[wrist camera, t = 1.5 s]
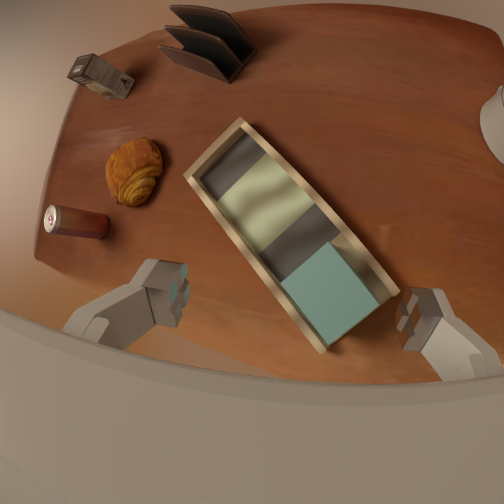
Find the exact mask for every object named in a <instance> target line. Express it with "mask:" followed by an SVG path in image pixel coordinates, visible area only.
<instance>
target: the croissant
mask: <svg viewBox="0 0 504 504" xmlns="http://www.w3.org/2000/svg"><path fill="white" fill-rule="evenodd" d="M162 172H163V160H162V156H161V153H160V151H159V149H158V147H157V146H156V145H155V144H154V142H152V141H151V140H150V139H148V138H144V137H143V138H138V139H133V140H132V141H130V142H128V143H126V144H124V145H123V146H121V147H119V148H118V149H117V150H116V151H115V152H114V153H113V154H112V155H111V157H110V158H109V161H108V163H107V164H106V181H107V185H108V188H109V191H110V194H111V196H112V198H113V199H114V200H115V202H116V203H117V204H120V205H125V206H128V207H133V206H137V205H139V204H141V203H143V202H144V201H146V200H147V199H148V197H149V196H150V194H151V192H152V190H154V189H153V188H154V186H155V184H156V179H158V178H159V177H160V175H161V174H162Z"/></svg>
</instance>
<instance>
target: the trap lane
mask: <svg viewBox="0 0 504 504" xmlns="http://www.w3.org/2000/svg"><path fill="white" fill-rule="evenodd" d="M183 176H184V177H185V178H186V180H187V181H188V182H189V184H190V185H191V186H192V188H193V189H194V190H195V192H196V193H197V194H198V196H199V197H200V198H201V200H202V201H203V202H204V204H205V205H206V206H207V208H208V209H209V210H210V212H211V213H212V214H213V216H214V217H215V218H216V220H217V221H218V222H219V224H220V225H221V226H222V228H223V229H224V230H225V231H226V233H227V234H228V235H229V237H230V238H231V239H232V241H233V242H234V243H235V245H236V246H237V247H238V249H239V250H240V251H241V253H242V254H243V255H244V256H245V258H246V259H247V260H248V262H249V263H250V264H251V266H252V267H253V268H254V270H255V271H256V272H257V274H258V275H259V276H260V277H261V279H262V280H263V281H264V283H265V284H266V285H267V287H268V288H269V289H270V291H271V292H272V293H273V294H274V296H275V297H276V298H277V300H278V301H279V302H280V304H281V305H282V306H283V307H284V309H285V310H286V311H287V313H288V314H289V315H290V317H291V318H292V319H293V320H294V322H295V323H296V324H297V326H298V327H299V328H300V330H301V331H302V332H303V333H304V335H305V336H306V337H307V339H308V340H309V341H310V342H311V344H312V345H313V346H314V348H315V349H316V350H317V351H318V353H319V354H320V355H321V354H322V353H324V352H325V351H327V349H328V348H329V346H330V345H331V344H333V343H334V342H336V341H337V340H338V339H340V338H341V337H342V336H343V335H345V334H346V333H347V332H349V331H350V330H351V329H353V328H354V327H355V326H356V325H358V324H359V323H360V322H361V321H363V320H364V319H365V318H366V317H368V316H369V315H370V314H371V313H373V312H374V311H375V310H376V309H377V308H379V307H380V306H381V305H382V304H383V303H385V302H386V301H387V300H388V299H389V298H390V297H392V296H394V297H395V296H396V295H397V294H398V293H399V292H400V290H399V288H398V287H397V286H396V284H395V283H394V282H393V281H392V279H391V278H390V277H389V276H388V274H387V273H386V272H385V271H384V269H383V268H382V267H381V266H380V264H379V263H378V262H377V261H376V259H375V258H374V257H373V256H372V255H371V253H370V252H369V251H368V250H367V249H366V247H365V246H364V245H363V244H362V243H361V242H360V240H359V239H358V238H357V237H356V236H355V235H354V233H353V232H352V231H351V230H350V229H349V228H348V226H347V225H346V224H345V223H344V222H343V221H342V220H341V219H340V217H339V216H338V215H337V214H336V213H335V212H334V211H333V210H332V208H331V207H330V206H329V205H328V204H327V203H326V202H325V201H324V200H323V199H322V198H321V196H320V195H319V194H318V193H317V192H316V191H315V190H314V189H313V188H312V187H311V186H310V185H309V184H308V183H307V182H306V181H305V180H304V178H303V177H302V176H301V175H300V174H299V173H298V172H297V171H296V170H295V169H294V168H293V167H292V166H291V165H290V164H289V163H288V162H287V161H286V160H285V159H284V158H283V157H282V156H281V155H280V154H279V153H278V152H277V151H276V150H275V149H274V148H273V147H272V146H271V145H270V144H269V143H268V142H267V141H266V140H264V139H263V138H262V137H261V136H260V135H259V134H258V133H257V132H256V131H255V130H254V129H253V128H252V127H251V126H250V125H249V124H248V123H246V122H245V121H244V120H243V119H242V118H241V117H239V118H238V119H237V120H236V121H235V122H234V123H233V124H232V125H231V126H230V127H229V128H228V129H227V130H226V131H225V132H224V133H223V134H222V135H221V136H220V137H219V138H218V139H217V140H216V141H215V142H214V143H213V144H212V145H211V146H210V147H209V148H208V149H207V150H206V151H205V152H204V153H203V154H202V155H201V156H200V157H199V158H198V159H197V161H196V162H195V163H194V164H193V165H192V166H191V167H190V168H189V169H188V170H187V171H186V172H185V173H184V174H183ZM327 242H329V243H331V244H333V245H334V246H336V248H337V249H338V250H339V251H340V252H341V253H342V255H343V256H344V257H345V258H346V260H347V261H348V262H349V263H350V264H351V266H352V267H353V268H354V269H355V270H356V272H357V273H358V274H359V275H360V277H361V278H362V279H363V280H364V282H365V283H366V284H367V285H368V287H369V288H370V289H371V290H372V292H373V293H374V294H375V296H376V297H377V298H378V301H379V306H378V307H376V308H375V309H374V310H373V311H372V312H370V313H369V314H368V315H367V316H365V317H364V318H363V319H362V320H360V321H359V322H358V323H357V324H355V325H354V326H353V327H352V328H350V329H349V330H348V331H346V332H345V333H344V334H342V335H341V336H340V337H339V338H337V339H336V340H335V341H333V342H332V343H330V344H329V345H328V344H327V343H326V341H325V340H324V339H323V338H322V336H321V335H320V334H319V332H318V331H317V330H316V329H315V327H314V326H313V325H312V323H311V322H310V321H309V320H308V318H307V317H306V316H305V314H304V313H303V312H302V311H301V309H300V308H299V307H298V305H297V304H296V303H295V302H294V300H293V299H292V298H291V296H290V295H289V294H288V293H287V291H286V290H285V289H284V287H283V286H282V285H281V284H280V283H281V282H282V281H283V280H285V279H286V278H287V277H288V276H289V275H290V274H292V273H293V272H294V271H295V270H296V269H297V268H299V267H300V266H301V265H302V264H303V263H304V262H305V261H307V260H308V259H309V258H310V257H311V256H312V255H313V254H315V253H316V252H317V251H318V250H319V249H320V248H321V247H323V246H324V245H325V244H326V243H327Z"/></svg>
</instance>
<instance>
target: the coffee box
mask: <svg viewBox="0 0 504 504" xmlns="http://www.w3.org/2000/svg"><path fill="white" fill-rule="evenodd" d="M67 78H69V79H71V80H73V81H75V82H77V83H79V84H81V85H83V86H84V87H87V88H88V89H90V90H92V91H94V92H96V93H98V94H100V95H102V96H104V97H105V98H107V99H126V97H127V95H128V93H129V90H130V88H131V86H132V84H133V82H134V79H133V78H131V77H130V76H128V75H127V74H125V73H124V72H122V71H120V70H119V69H117V68H116V67H114V66H113V65H111V64H110V63H108V62H107V61H105V60H103V59H102V58H100V57H99V56H97V55H95V54H94V53H92V54H88V55H84V56H80V57H78V58H77V59H76V61H75V63H74V65H73V67H72V68H71V70H70V72H69V74H68V76H67Z"/></svg>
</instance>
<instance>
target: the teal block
mask: <svg viewBox="0 0 504 504" xmlns="http://www.w3.org/2000/svg"><path fill="white" fill-rule="evenodd" d="M280 284H281V285H282V286H283V287H284V289H285V290H286V291H287V293H288V294H289V295H290V296H291V298H292V299H293V300H294V302H295V303H296V304H297V305H298V307H299V308H300V309H301V311H302V312H303V313H304V314H305V316H306V317H307V318H308V320H309V321H310V322H311V323H312V325H313V326H314V327H315V329H316V330H317V331H318V332H319V334H320V335H321V336H322V338H323V339H324V340H325V341H326V343H327V344H328V345H329V344H330V343H332V342H333V341H335V340H336V339H337V338H339V337H340V336H341V335H342V334H344V333H345V332H346V331H348V330H349V329H350V328H352V327H353V326H354V325H355V324H357V323H358V322H359V321H360V320H362V319H363V318H364V317H365V316H367V315H368V314H369V313H370V312H372V311H373V310H374V309H375V308H376V307H378V306H379V301H378V298H377V297H376V296H375V294H374V293H373V292H372V290H371V289H370V288H369V287H368V285H367V284H366V283H365V282H364V280H363V279H362V278H361V277H360V275H359V274H358V273H357V272H356V270H355V269H354V268H353V267H352V266H351V264H350V263H349V262H348V261H347V260H346V258H345V257H344V256H343V255H342V253H341V252H340V251H339V250H338V249H337V248H336V246H334V245H333V244H331V243H329V242H327V243H326V244H325V245H324V246H323V247H321V248H320V249H319V250H318V251H317V252H316V253H315V254H313V255H312V256H311V257H310V258H309V259H308V260H307V261H305V262H304V263H303V264H302V265H301V266H300V267H299V268H297V269H296V270H295V271H294V272H293V273H292V274H290V275H289V276H288V277H287V278H286V279H285V280H283V281H282V282H281V283H280Z"/></svg>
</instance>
